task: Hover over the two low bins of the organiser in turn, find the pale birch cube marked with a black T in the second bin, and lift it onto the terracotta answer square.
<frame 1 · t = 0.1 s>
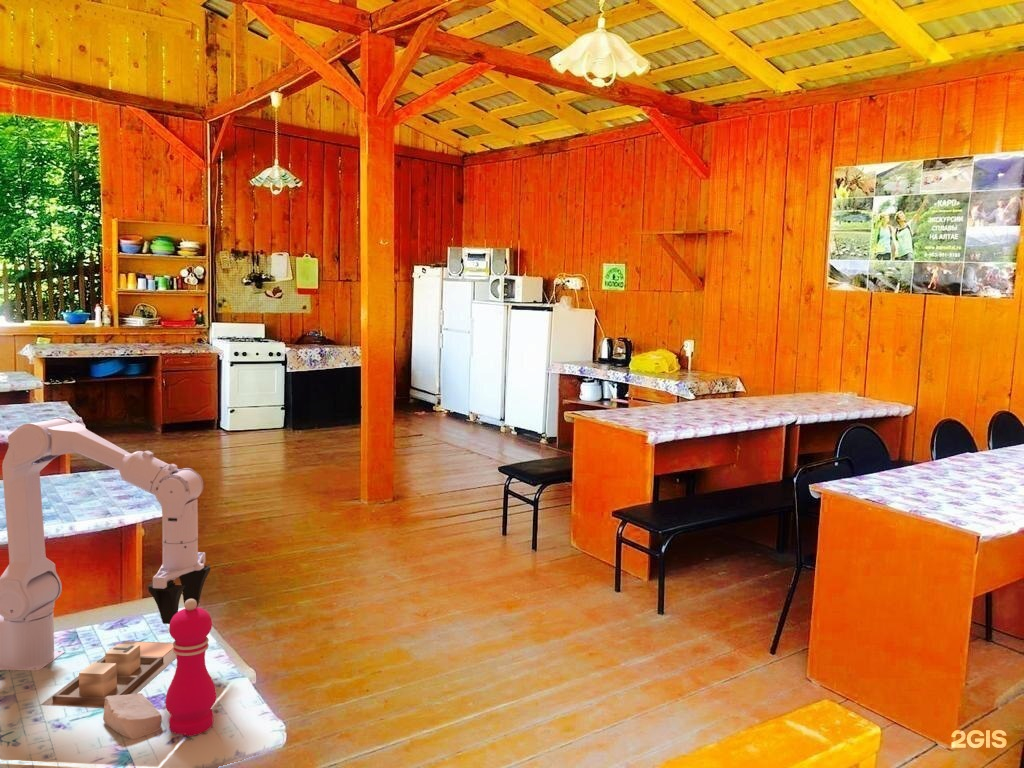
hand: (180, 615, 137), 10 cm above the table, tool pointing down, fingers open, 7 cm apart
letter cube: (123, 671, 135), resting on organiser
organiser: (122, 674, 135), on the table
tan faceted block: (132, 729, 118), on the table
pepper mill: (191, 727, 118), on the table
blank cube: (98, 691, 128), resting on organiser
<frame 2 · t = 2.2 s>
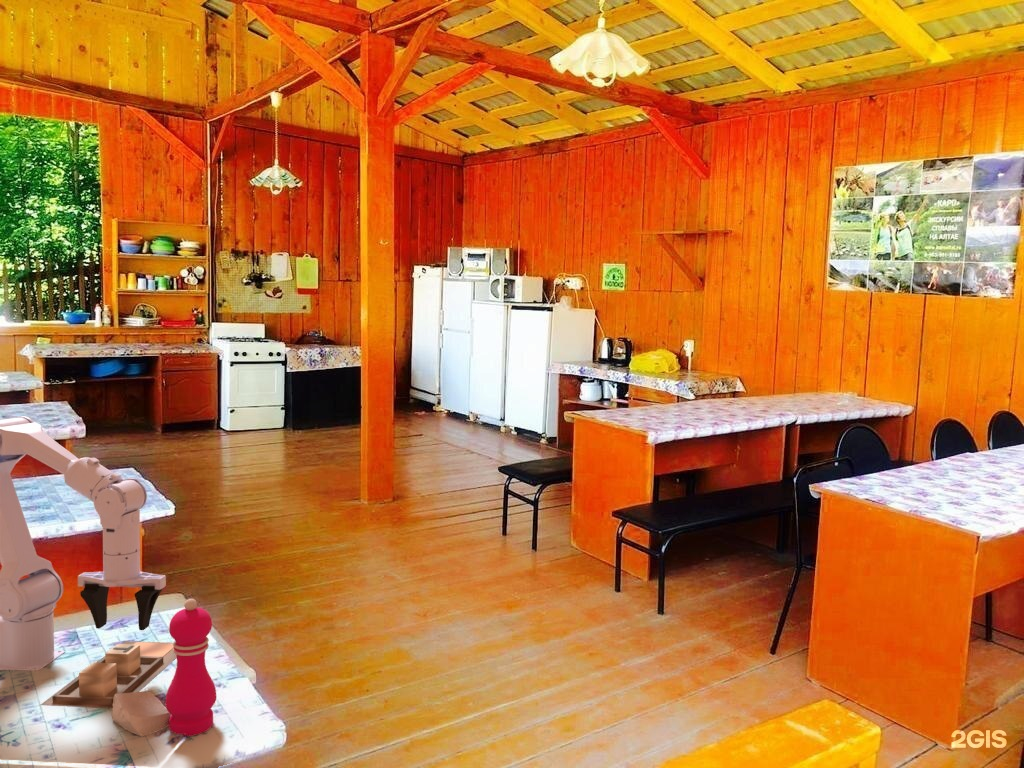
hand: (122, 627, 135), 8 cm above the table, tool pointing down, fingers open, 7 cm apart
tan faceted block: (140, 726, 119), on the table
everything else where it was.
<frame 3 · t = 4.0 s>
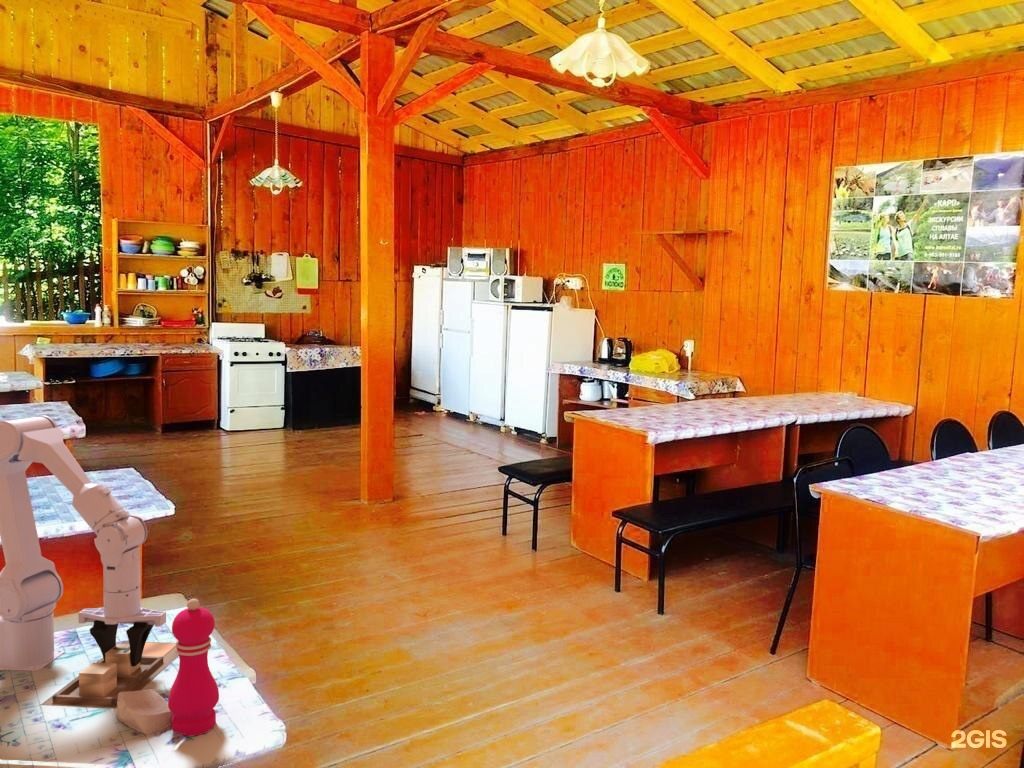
hand: (123, 663, 135), 2 cm above the table, tool pointing down, fingers closed on letter cube, 4 cm apart
letter cube: (123, 671, 135), resting on organiser, touching gripper
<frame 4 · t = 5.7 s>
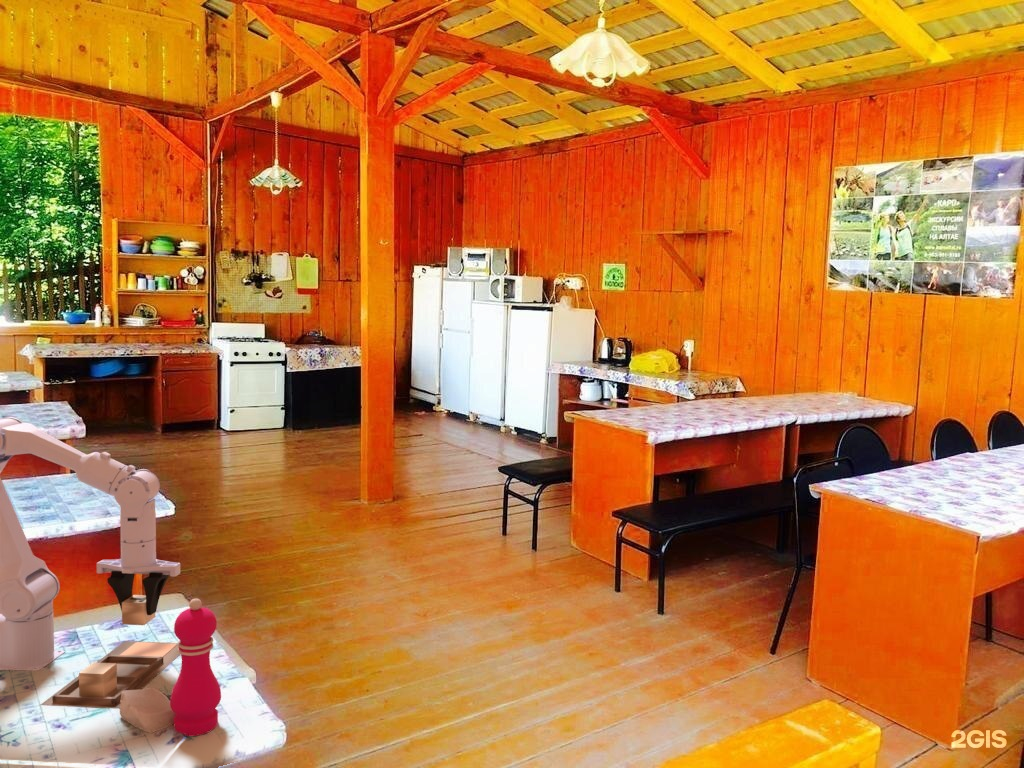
hand: (139, 612, 140), 9 cm above the table, tool pointing down, fingers closed on letter cube, 4 cm apart
letter cube: (139, 620, 140), point 7 cm above the table, touching gripper
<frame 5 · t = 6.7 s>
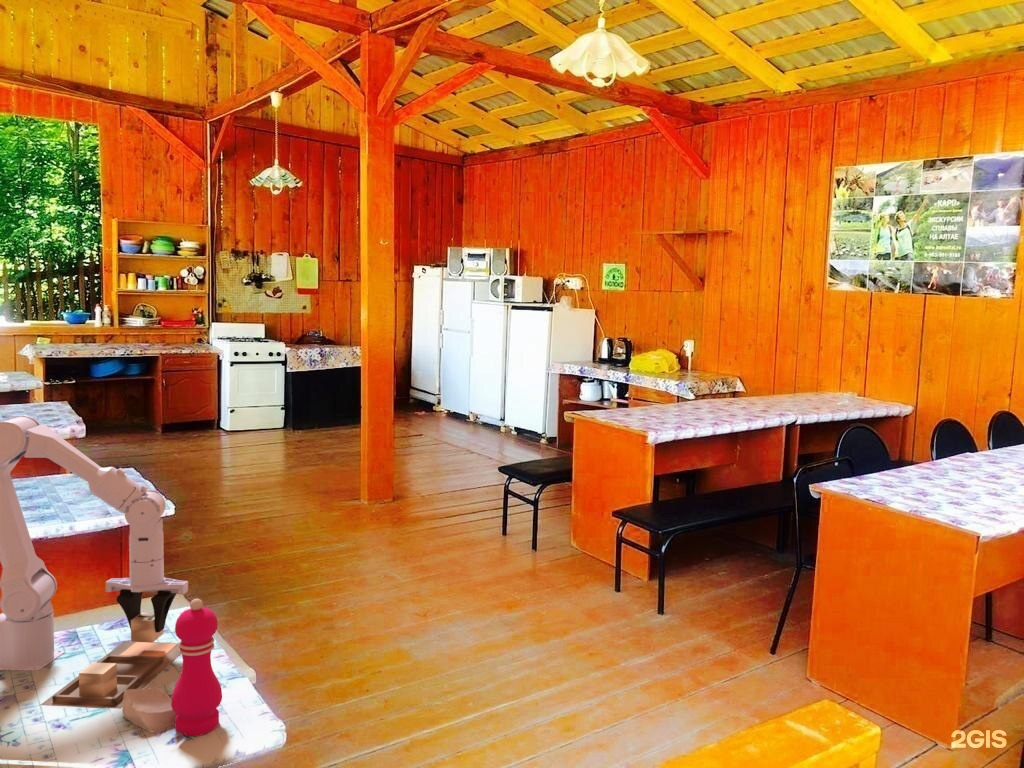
hand: (147, 629, 143), 5 cm above the table, tool pointing down, fingers closed on letter cube, 4 cm apart
letter cube: (147, 637, 143), point 3 cm above the table, touching gripper
when the fingers open (3 cm above the table, at t = 7.4 s): letter cube drops 1 cm, resting on organiser.
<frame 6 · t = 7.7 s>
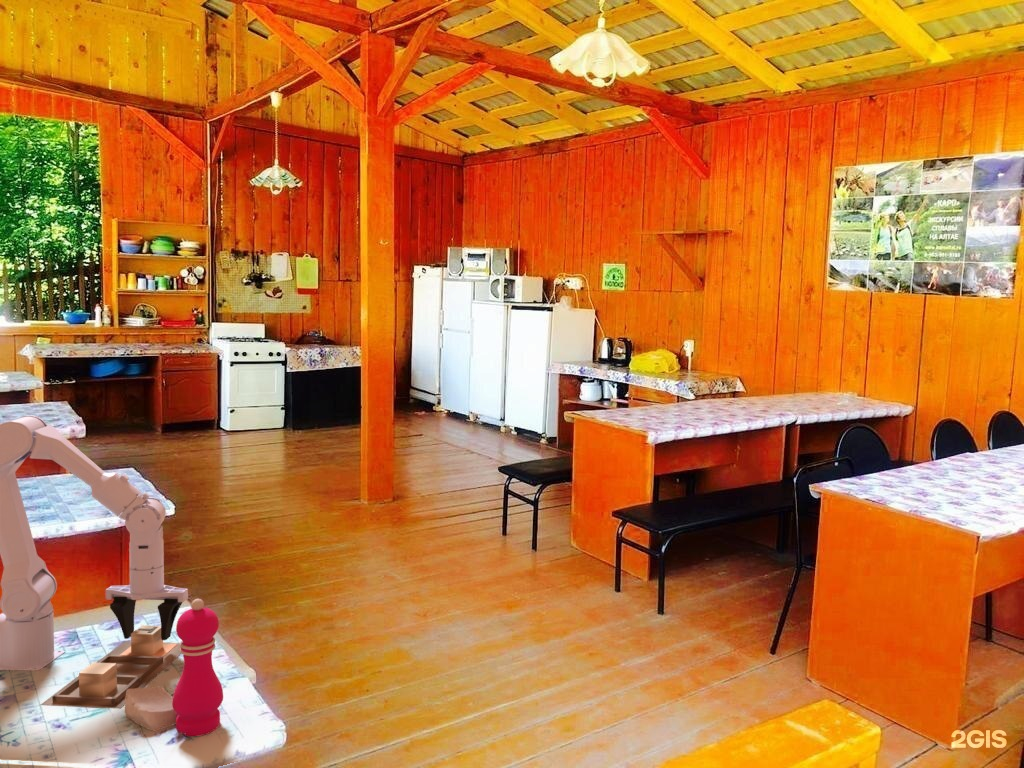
hand: (147, 637, 143), 3 cm above the table, tool pointing down, fingers open, 6 cm apart
letter cube: (147, 650, 143), point 1 cm above the table, touching organiser
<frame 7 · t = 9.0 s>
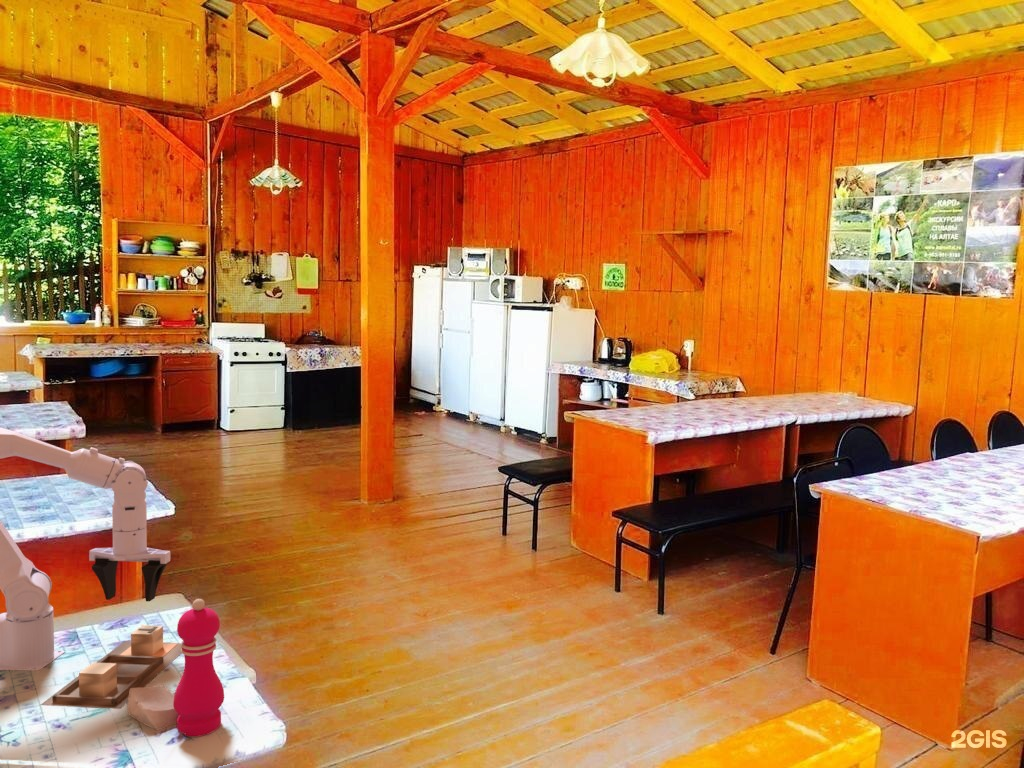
hand: (130, 598, 145), 9 cm above the table, tool pointing down, fingers open, 7 cm apart
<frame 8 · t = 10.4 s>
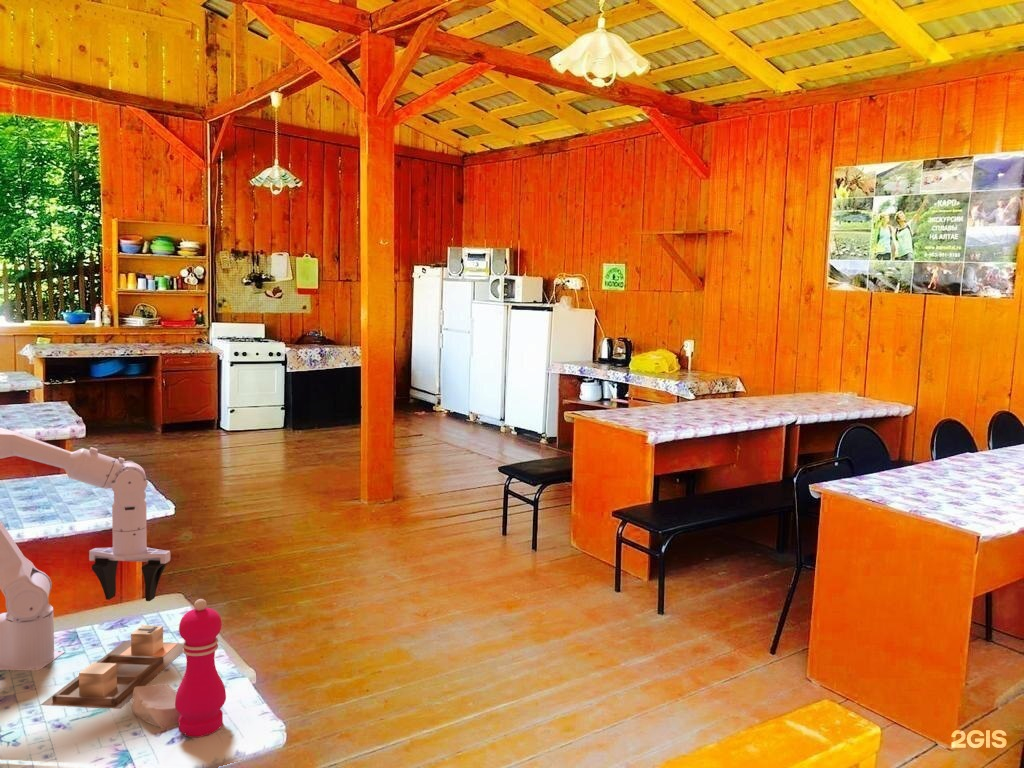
hand: (130, 598, 145), 9 cm above the table, tool pointing down, fingers open, 7 cm apart
at the end: letter cube 0.1 cm from the target spot on the organiser, point 0.6 cm above the organiser's base; letter cube tilted 0°; blank cube moved 0.0 cm from its start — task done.
